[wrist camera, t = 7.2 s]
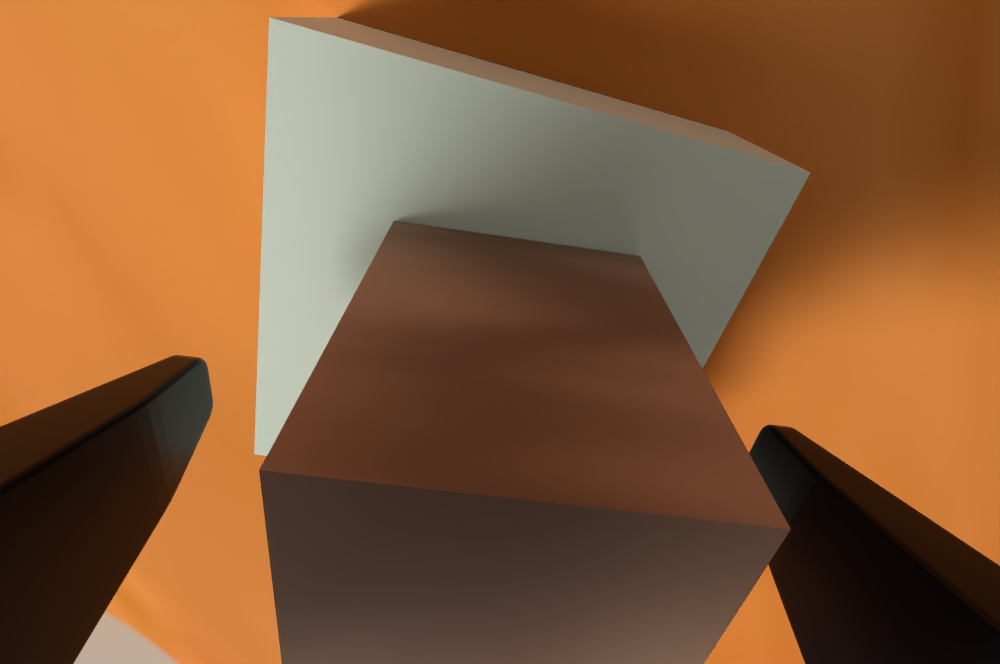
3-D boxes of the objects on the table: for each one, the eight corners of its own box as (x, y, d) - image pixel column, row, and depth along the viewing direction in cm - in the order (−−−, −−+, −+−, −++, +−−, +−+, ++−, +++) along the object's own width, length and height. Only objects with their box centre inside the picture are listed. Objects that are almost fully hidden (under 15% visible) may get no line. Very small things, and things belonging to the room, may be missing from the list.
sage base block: (725, 129, 12) (810, 172, 9) (594, 418, 17) (619, 521, 13) (339, 17, 11) (268, 16, 8) (308, 358, 16) (254, 454, 12)
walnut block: (640, 256, 10) (790, 528, 5) (584, 438, 12) (642, 757, 7) (393, 220, 9) (259, 471, 4) (384, 415, 12) (290, 729, 7)
